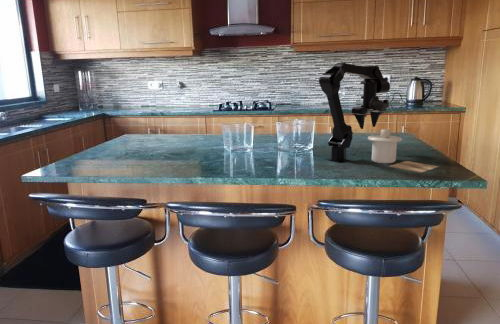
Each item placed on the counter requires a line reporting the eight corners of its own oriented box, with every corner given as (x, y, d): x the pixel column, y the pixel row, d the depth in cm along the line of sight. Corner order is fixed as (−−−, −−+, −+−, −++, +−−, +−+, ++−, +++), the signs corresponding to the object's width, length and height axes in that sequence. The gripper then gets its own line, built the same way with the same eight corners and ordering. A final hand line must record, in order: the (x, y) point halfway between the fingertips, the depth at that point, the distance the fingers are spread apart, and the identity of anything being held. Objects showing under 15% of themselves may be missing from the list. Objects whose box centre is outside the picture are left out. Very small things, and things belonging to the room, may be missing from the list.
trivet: (420, 174, 151) (420, 172, 151) (388, 167, 162) (388, 166, 161) (438, 168, 159) (438, 166, 159) (406, 162, 170) (406, 160, 170)
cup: (369, 163, 169) (370, 140, 167) (373, 158, 178) (375, 136, 175) (393, 165, 165) (395, 142, 162) (397, 160, 173) (398, 138, 171)
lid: (389, 143, 159) (390, 133, 158) (361, 139, 170) (361, 129, 169) (408, 139, 167) (409, 129, 166) (380, 135, 178) (380, 126, 177)
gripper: (372, 95, 166) (370, 132, 170) (397, 93, 177) (394, 127, 181) (351, 94, 175) (349, 129, 178) (376, 92, 186) (374, 125, 189)
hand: (368, 127), depth 182 cm, fingers open, 9 cm apart
